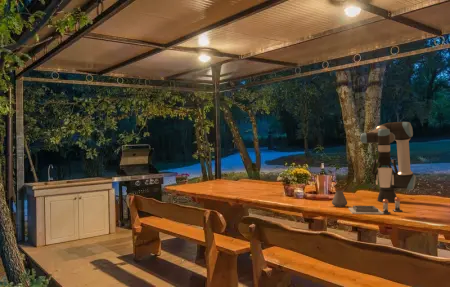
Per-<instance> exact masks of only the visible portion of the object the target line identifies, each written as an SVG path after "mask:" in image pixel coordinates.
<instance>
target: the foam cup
mask: <svg viewBox="0 0 450 287" xmlns="http://www.w3.org/2000/svg"><path fill="white" fill-rule="evenodd" d="M376 169H378V173H377V175H378V185H379V188H380V187H383V188H389V187H390V183H391V175H392V169H393V167H392V168H389V167H388V166H387V167H382V166H381V168H376Z"/></svg>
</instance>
